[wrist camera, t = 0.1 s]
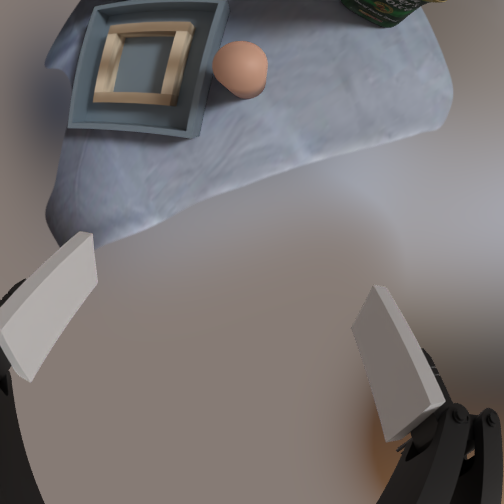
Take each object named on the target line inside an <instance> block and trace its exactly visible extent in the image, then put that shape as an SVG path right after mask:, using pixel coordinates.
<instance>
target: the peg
mask: <svg viewBox="0 0 504 504" xmlns="http://www.w3.org/2000/svg"><path fill="white" fill-rule="evenodd" d="M267 66H268V63H267V58H266V55H265V53H264V52H263V51H262V49H261V48H259V47H258V46H257V45H255V44H253V43H250V42H246V41H235V42H231V43H228V44H226V45H225V46H223V47H222V48H220V49H219V50H218V52H217V53H216V54H215V56H214V59H213V63H212V69H213V73H214V75H215V77H216V79H217V80H218V81H219V82H220V83H221V84H223V85H224V86H225V87H226V88H227V89H228V90H229V91H231V92H232V93H233V94H234V95H235V96H237V97H239V98H242V99H251V98H254V97H256V96H258V95H259V94H260V93H261V92H262V91H263V90H264V88H265V84H266V75H267Z"/></svg>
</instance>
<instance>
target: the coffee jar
mask: <svg viewBox="0 0 504 504" xmlns="http://www.w3.org/2000/svg"><path fill="white" fill-rule="evenodd" d="M341 1H342V3H343V4H344V5H345V6H346V7H347V8H348V9H350V10H351V11H353V12H355V13H356V14H358V15H360V16H361V17H363V18H365V19H367V20H369V21H371V22H373V23H375V24H377V25H379V26H382V27H386V28H391V27H394V26H396V25H397V24H399V23H400V22H401V21H403V20H404V19H405V18H406V17H407V16H408V15H410V14H411V13H412V12H413V11H415V10H416V9H417V8H419V7H420V6H422V5H424V4H426V3H429V2H445V1H447V0H341Z"/></svg>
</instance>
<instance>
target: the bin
mask: <svg viewBox="0 0 504 504" xmlns="http://www.w3.org/2000/svg"><path fill="white" fill-rule="evenodd" d="M229 13H230V8H229V5H228V2H227V0H131V1H123V2H117V3H111V4H105V5H100V6H95V7H94V10H93V12H92V15H91V18H90V21H89V24H88V28H87V31H86V34H85V37H84V41H83V45H82V48H81V52H80V56H79V61H78V65H77V70H76V74H75V79H74V85H73V90H72V97H71V103H70V111H69V119H68V128H83V129H106V130H121V131H133V132H143V133H153V134H161V135H169V136H177V137H184V138H190V139H192V138H195V137H198V136H199V135H200V130H201V125H202V120H203V115H204V110H205V106H206V101H207V97H208V92H209V88H210V84H211V79H212V75H213V69H212V63H213V59H214V56H215V54H216V53H217V52H218V50H219V48H220V44H221V41H222V37H223V34H224V30H225V27H226V23H227V20H228V17H229ZM168 21H176V22H191V23H192V24H193V26H194V27H195V28H196V29H195V33H194V36H193V40H192V43H191V47H190V51H189V54H188V58H187V62H186V66H185V70H184V74H183V79H182V83H181V88H180V92H179V97H178V102H177V106H167V105H155V104H141V103H115V102H93V97H94V91H95V86H96V81H97V76H98V71H99V66H100V62H101V58H102V54H103V50H104V46H105V42H106V39H107V35H108V32H109V29H110V26H111V25H119V24H128V23H141V22H168ZM173 41H174V37H167V36H158V37H131V38H126V39H125V43H124V47H123V50H122V54H121V58H120V62H119V67H118V71H117V76H116V81H115V86H114V91H113V92H140V93H158V94H161V90H162V85H163V81H164V76H165V72H166V68H167V64H168V60H169V56H170V52H171V48H172V45H173Z"/></svg>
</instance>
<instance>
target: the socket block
mask: <svg viewBox="0 0 504 504" xmlns="http://www.w3.org/2000/svg"><path fill="white" fill-rule="evenodd" d="M195 29H196V28H195V27H194V26H193V24H192V23H191V22H176V21H168V22H141V23H128V24H119V25H111V26H110V29H109V32H108V35H107V39H106V42H105V46H104V50H103V54H102V58H101V62H100V66H99V71H98V76H97V81H96V86H95V91H94V97H93V102H115V103H141V104H155V105H167V106H177V102H178V97H179V92H180V88H181V83H182V79H183V74H184V70H185V66H186V62H187V58H188V54H189V51H190V47H191V43H192V40H193V36H194V33H195ZM158 36H167V37H174V41H173V45H172V48H171V52H170V56H169V60H168V64H167V68H166V72H165V76H164V81H163V85H162V90H161V94H158V93H140V92H113V91H114V86H115V81H116V76H117V71H118V67H119V62H120V58H121V54H122V50H123V47H124V43H125V39H126V38H131V37H158Z"/></svg>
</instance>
